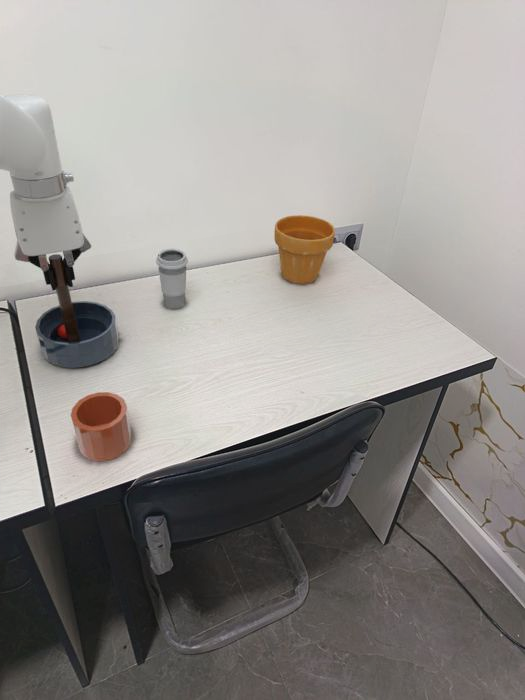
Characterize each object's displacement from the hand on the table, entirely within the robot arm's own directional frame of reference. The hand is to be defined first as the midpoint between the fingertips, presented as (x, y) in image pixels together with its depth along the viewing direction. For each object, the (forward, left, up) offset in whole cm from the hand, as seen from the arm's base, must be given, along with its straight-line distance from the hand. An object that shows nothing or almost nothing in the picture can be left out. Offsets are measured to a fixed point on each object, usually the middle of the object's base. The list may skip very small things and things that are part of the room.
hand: (61, 284), depth 89 cm
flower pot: (+56, +6, -14) cm, 58 cm away
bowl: (+1, -1, -14) cm, 14 cm away
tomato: (-1, +1, -12) cm, 12 cm away
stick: (0, -1, -13) cm, 13 cm away
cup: (+23, +6, -14) cm, 28 cm away
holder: (-1, -27, -14) cm, 30 cm away
